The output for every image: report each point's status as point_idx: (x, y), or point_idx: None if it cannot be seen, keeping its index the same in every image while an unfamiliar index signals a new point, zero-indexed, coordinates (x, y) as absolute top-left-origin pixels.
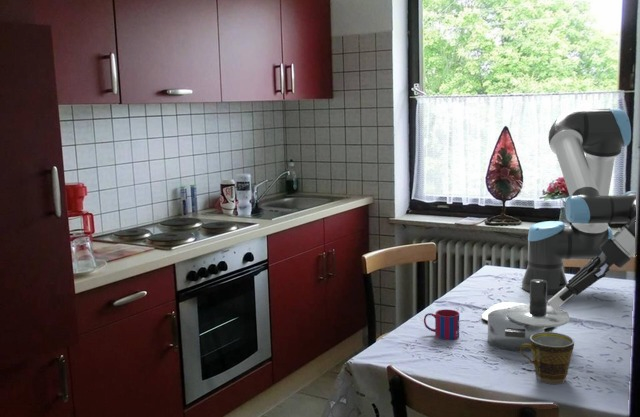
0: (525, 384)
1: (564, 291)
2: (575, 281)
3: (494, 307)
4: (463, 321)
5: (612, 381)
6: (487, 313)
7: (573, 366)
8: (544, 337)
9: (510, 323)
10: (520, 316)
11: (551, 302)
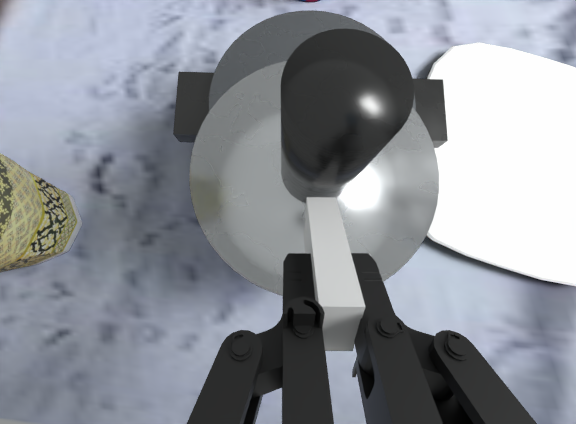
0: None
1: (314, 287)
2: (301, 410)
3: (564, 75)
4: (433, 6)
5: (41, 392)
6: (499, 57)
7: (139, 290)
8: (5, 184)
9: (235, 82)
10: (260, 104)
11: (307, 214)
